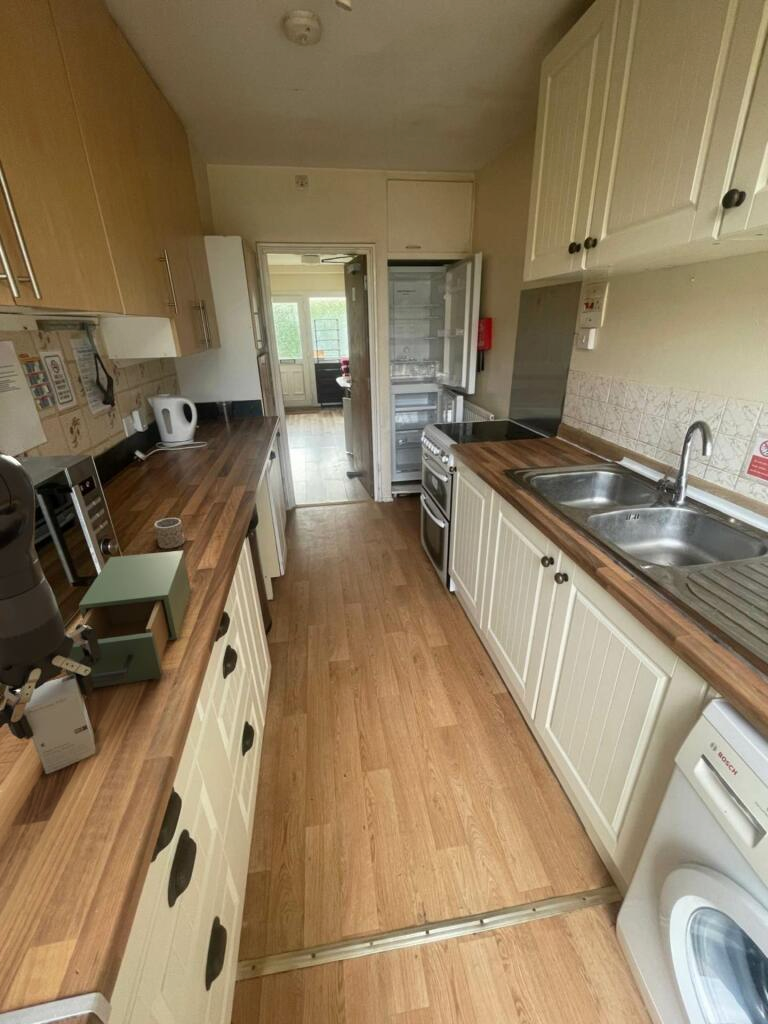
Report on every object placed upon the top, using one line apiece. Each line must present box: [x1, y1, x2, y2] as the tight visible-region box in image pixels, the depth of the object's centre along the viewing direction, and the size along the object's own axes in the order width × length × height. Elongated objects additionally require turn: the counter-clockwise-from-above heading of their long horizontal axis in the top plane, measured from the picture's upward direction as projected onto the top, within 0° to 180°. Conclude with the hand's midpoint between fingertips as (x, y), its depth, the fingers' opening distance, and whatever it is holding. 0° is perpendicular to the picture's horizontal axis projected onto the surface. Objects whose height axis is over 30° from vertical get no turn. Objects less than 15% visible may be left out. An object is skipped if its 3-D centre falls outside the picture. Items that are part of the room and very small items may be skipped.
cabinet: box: [78, 550, 192, 641], centre depth 89 cm, size 18×15×11 cm
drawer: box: [64, 599, 170, 689], centre depth 76 cm, size 22×14×9 cm, turn 14°
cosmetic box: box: [23, 674, 96, 775], centre depth 60 cm, size 6×4×12 cm
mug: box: [154, 517, 186, 549], centre depth 121 cm, size 10×7×7 cm, turn 57°
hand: (57, 713), depth 59 cm, fingers closed on cosmetic box, 7 cm apart
